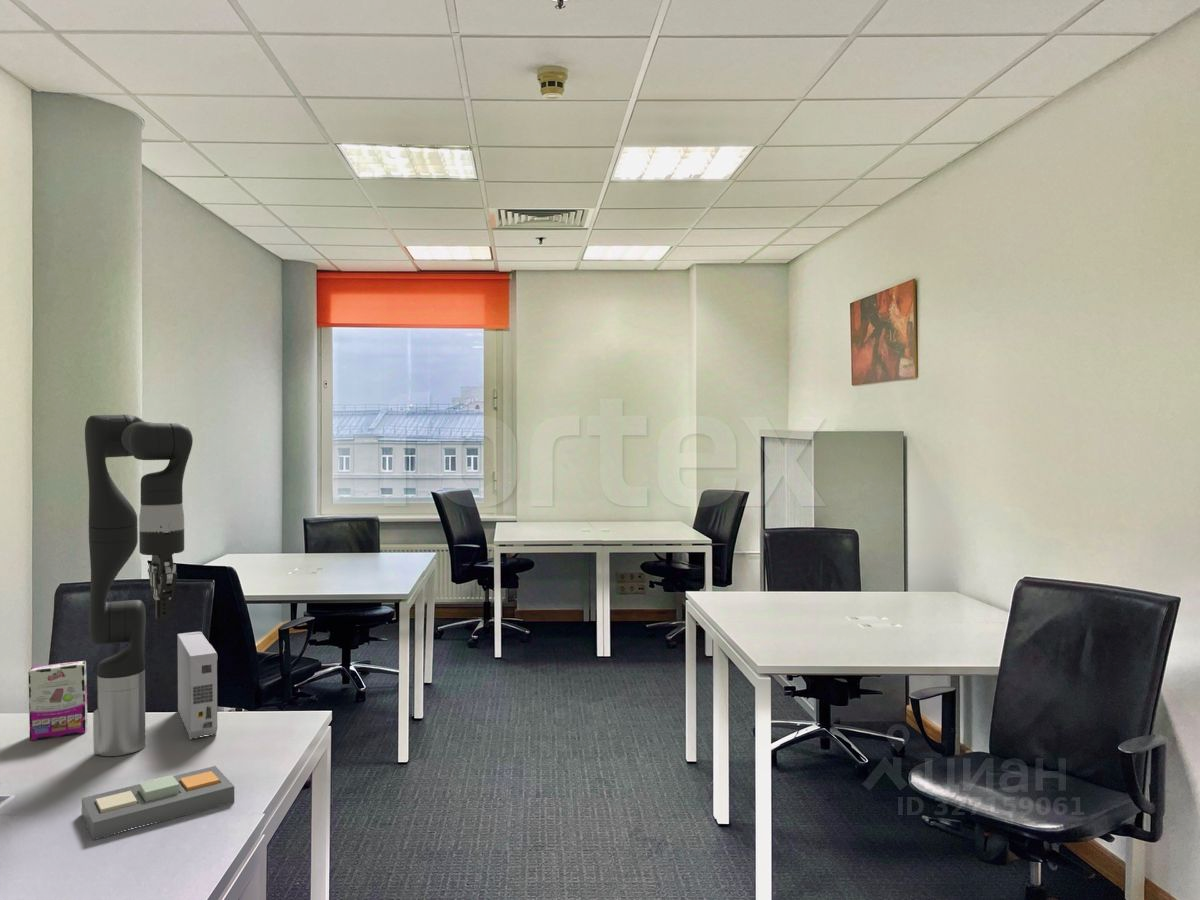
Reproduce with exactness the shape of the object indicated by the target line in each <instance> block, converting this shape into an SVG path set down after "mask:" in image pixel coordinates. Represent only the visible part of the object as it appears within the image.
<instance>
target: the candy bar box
mask: <svg viewBox="0 0 1200 900" xmlns="http://www.w3.org/2000/svg"><path fill="white" fill-rule="evenodd" d="M27 674H28V702H29V703H28V705H29V706H28V707H29V708H28V709H29V710H28V711H29V714H28V716H29V717H28V718H29V722H28V723H29V741H31V742H32V741H38V740H46V739H47V740H48V739H52V738H53V739H54V738H60V737H64V736H65V737H66V736H72V735H79V734H85V733H86V732H87V729H88V698H87V697H88V690H87V688H88V687H87V685H88V683H87V660H81V661H80V660H79V661H71V662H70V661H68V662H62V663H61V662H60V663H54V664H53V663H52V664H45V665H44V664H43V665H36V666H32V667H31V668H30V669H29V671H28V673H27Z"/></svg>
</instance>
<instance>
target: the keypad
mask: <svg viewBox="0 0 1200 900" xmlns="http://www.w3.org/2000/svg"><path fill="white" fill-rule="evenodd" d="M209 771H212V772H213V773H214V774H215V775H216V777H217V778H218V779H219V783H218V784H214V785H210V786H206V787H202V788H198V789H194V790H190V791H185V789H184V788H183V787H182V785H181V784H180V778H184V777H188V776H192V775H197V774H201V773H205V772H209ZM173 777H174V778H175V779H176V780H177V782H178V783H179V793H178V794H174V795H170V796H167V797H163V798H159V799H155V800H151V801H147V802H144V800H143V798H142V797H141V795H140V794H139V784H133V785H131V786H126V787H121V788H117V789H114V790H110V791H105V792H101V793H97V794H93V795H88V796H85V797H81V815H83V816H82V818H83V820H84V822H85V824H87V825H86V826H88V827H87V828H88V831H89V834H90V833H91V834H90V836H91V835H92V836H91V837H92V840H93V841H94V839H96V840H98V839H97V838H99V839H102V838H101V837H103V838H105V837H104V836H107V837H109V836H108V835H111V834H114V833H118V832H121V831H124V830H128V829H131V828H135V827H139V826H143V825H147V824H151V823H155V822H158V823H160V822H159V821H162V822H165V821H164V820H166V821H168V820H167V819H169V820H172V819H171V818H173V819H176V818H175V817H177V818H180V817H184V816H188V815H191V813H192V814H194V812H195V813H198V812H197V811H199V812H202V811H201V810H203V811H206V810H209V808H210V809H213V808H217V807H220V806H224V805H229V804H231V803H232V804H233V803H235V785H234V784H233V783H232V782H231V781H230V780H229V779H228V778H227V777H226V775H225V774H224V773H223V772H222V771H221V770H220V769H219V768H218V767H217V766H216V765H213V766H209V767H205V768H201V769H197V770H196V769H195V770H193V771H188V772H183V773H180V774H176V775H173ZM127 791H131V792H132V793H133V795H134V797H135V798H136V800H137V804H135V805H131V806H127V807H123V808H119V809H115V810H112V811H108V812H104V813H100V814H99V812H98V810H97V808H96V799H98V798H102V797H106V796H111V795H115V794H119V793H123V792H127ZM205 809H206V810H205ZM187 814H188V815H187ZM183 815H184V816H183ZM179 816H180V817H179ZM155 824H156V823H155ZM151 825H152V824H151ZM147 826H148V825H147ZM118 834H119V833H118ZM114 835H115V834H114ZM111 836H112V835H111Z"/></svg>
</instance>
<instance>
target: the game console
mask: <svg viewBox="0 0 1200 900" xmlns="http://www.w3.org/2000/svg"><path fill="white" fill-rule="evenodd" d="M177 712H178V713H180V714H179V716H180V718H182V719H181V721H182V720H183V721H182V723H183V722H184V724H183V726H184V725H185V726H184V728H185V727H186V729H185V731H186V730H187V731H186V733H187V732H188V734H189V736H188V738H189V737H190V738H195V737H200V736H204V735H211V734H216V735H217V732H218V652H217V650H215V648H214V647H213V645H212V644H211V643H210V642H209V641H208V639H207V638H206V636H205V635H204V634H203V632H202V631H191V632H183V633H182V632H181V633H177ZM188 734H187V735H188ZM195 739H196V738H195Z"/></svg>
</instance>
